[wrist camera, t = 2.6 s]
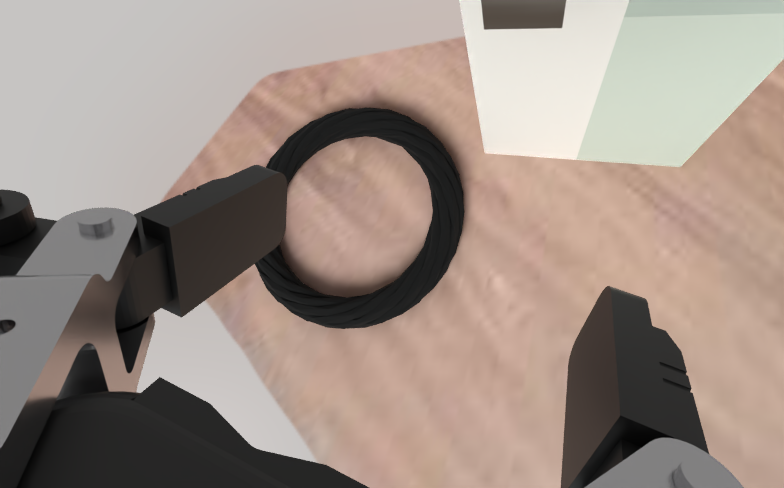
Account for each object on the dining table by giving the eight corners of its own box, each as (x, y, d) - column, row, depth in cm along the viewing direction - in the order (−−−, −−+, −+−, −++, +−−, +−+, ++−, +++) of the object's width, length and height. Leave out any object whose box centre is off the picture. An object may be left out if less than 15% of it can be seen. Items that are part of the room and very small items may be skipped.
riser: (680, 167, 44) (1043, -214, 14) (484, 153, 50) (437, -131, 20) (688, 79, 45) (1028, -435, 15) (497, 76, 51) (472, -294, 21)
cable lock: (440, 351, 43) (202, 303, 52) (446, 350, 47) (222, 305, 56) (479, 103, 48) (253, 98, 57) (481, 119, 51) (269, 112, 60)
